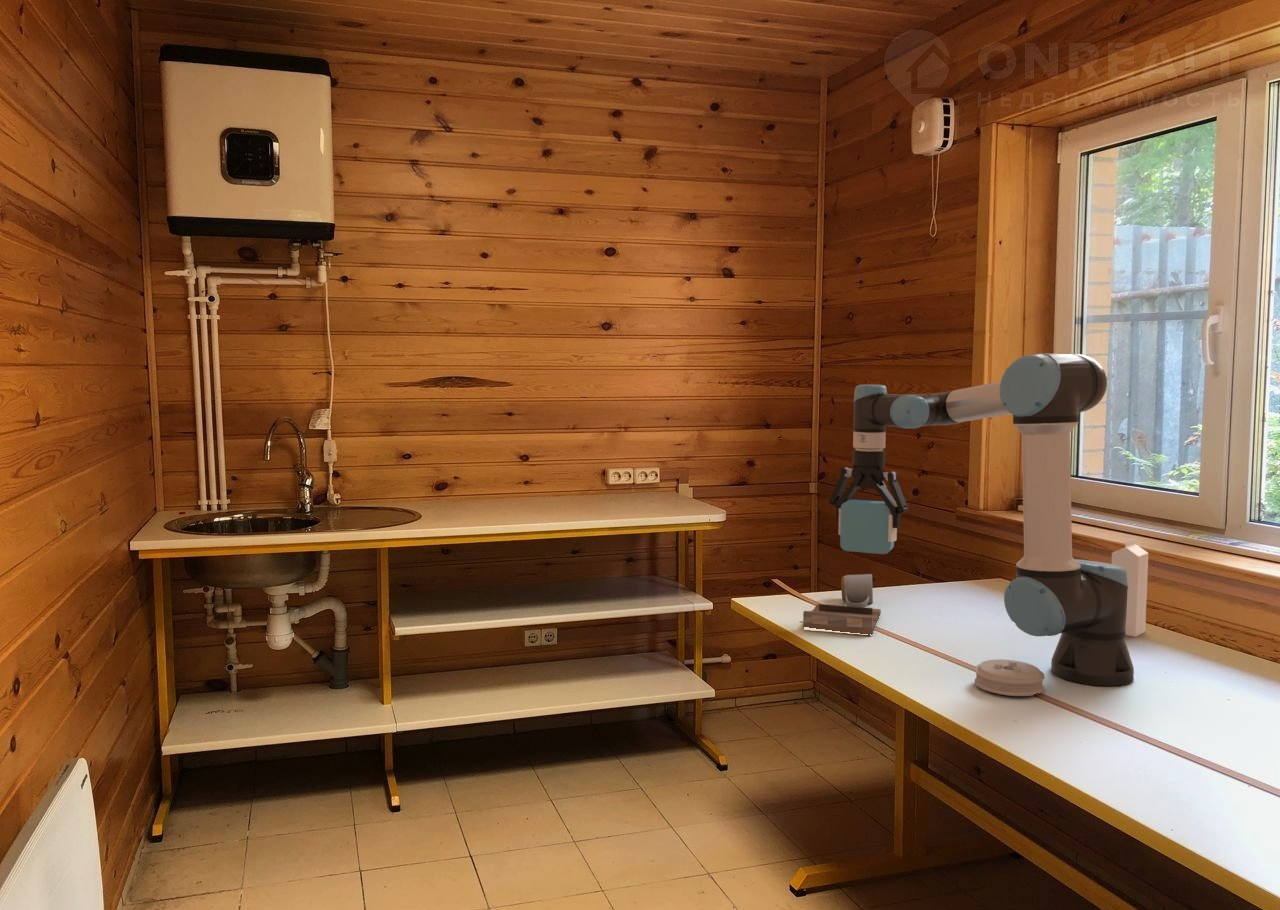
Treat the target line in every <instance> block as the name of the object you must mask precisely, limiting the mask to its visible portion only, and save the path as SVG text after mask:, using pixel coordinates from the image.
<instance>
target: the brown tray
mask: <svg viewBox="0 0 1280 910" xmlns="http://www.w3.org/2000/svg"><path fill="white" fill-rule="evenodd" d="M881 611H882V609H881V608H873V607H866V606H865V607H854V606H848V605H839V604H826V603H819V604H816V605H815V607H814V608H813V609H812V611H810V610H804V611H803V612H802V613H803V614H802V616H803V619H802V621H803V622H802V625H803V627H809V628H816V629H825V630H832V631H840V632H850V633H860V634H868V635H870V634H871V635H872V634H873V635H874V633H873V631H874V632H875V630H874V628H875V625H876V623H877V621H878V622H879V620H880V618H879V616H880V614H881ZM880 617H881V616H880ZM878 619H879V620H878ZM877 624H878V623H877ZM876 626H877V625H876ZM803 627H802V628H803ZM875 629H876V628H875ZM873 635H872V636H873Z"/></svg>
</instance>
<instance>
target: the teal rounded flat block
mask: <svg viewBox="0 0 1280 910" xmlns="http://www.w3.org/2000/svg"><path fill="white" fill-rule="evenodd" d="M889 514H892V512H891V511H890V509H889V508H888V506H887V505H886V503H885V502H884V500H881V501H879V500H865V499H864V500H861V499H849V500H848V501H846V502H845V503H843V504H842V506H841V525H840V535H839V537H840V539H839V540H840V541H839V545H840V548H841V550H843V551H844V552H853V553H854V552H855V553H864V554H874V555H875V554H876V555H877V554H878V555H886V554H889V552H891V551H892V550H893V548H894V546H895V541H894V542H888V527H889Z"/></svg>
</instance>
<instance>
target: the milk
mask: <svg viewBox="0 0 1280 910" xmlns="http://www.w3.org/2000/svg"><path fill="white" fill-rule="evenodd" d="M1136 543H1137V539H1136V537H1134V538H1130V539H1127V540H1125V545H1124V547H1123V548H1121V549H1118V550H1115V551H1113V552H1111V564H1113V565H1117V566H1120V567H1122V568H1124V569H1125V570H1126V572H1127V583H1128V590H1127V610H1126V631H1125V636H1127V637H1132V638H1133V637H1134V638H1136V637H1139V636H1140V635H1143V634H1144V633H1146V621H1147V601H1148V600H1147V596H1148V595H1147V594H1148V574H1149V572H1148V571H1149V552H1148V551H1146V550H1145V549H1144V548H1142V547H1140V545H1137V544H1136Z"/></svg>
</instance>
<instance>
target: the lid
mask: <svg viewBox="0 0 1280 910" xmlns="http://www.w3.org/2000/svg"><path fill="white" fill-rule="evenodd" d="M974 671H975V674H976V675H975V679H974V684H975V685H976V686H977V687H978V688H980V689H982V690H983V691H987V692H990V693H994V694H998V695H1002V696H1003V695H1004V696H1013V697H1028V696H1031V697H1032V696H1035V695H1034V693H1039V694H1042V693H1043V692H1044V691H1045V686H1044V680H1045V678H1046V677H1045V675H1046V674H1045V673H1044V672H1043V671H1041V670H1040V668H1038V667H1037V666H1036V665H1034V664H1031V663H1028V662H1024V661H1020V660H1014V659H1001V658H1000V659H999V658H998V659H988V660H985V661H981V662H980V663H979V664H977V665H976V666H975V667H974Z"/></svg>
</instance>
